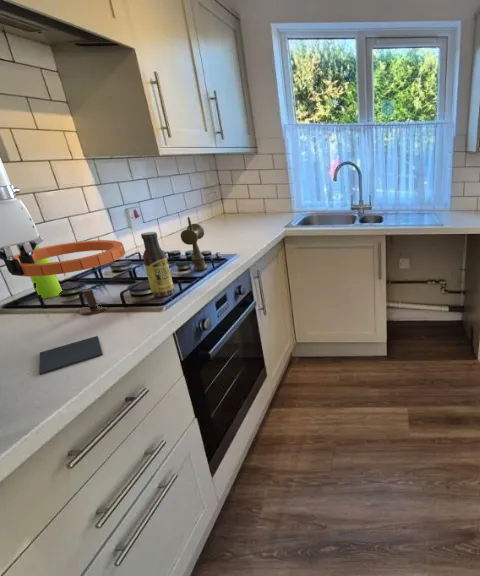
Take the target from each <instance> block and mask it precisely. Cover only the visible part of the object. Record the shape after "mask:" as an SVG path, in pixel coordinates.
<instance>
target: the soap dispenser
mask: <svg viewBox="0 0 480 576" xmlns="http://www.w3.org/2000/svg"><path fill="white" fill-rule="evenodd" d="M39 248H40V247H39V244H38V245H36V247H35V249H39ZM35 249H34V250H35ZM37 263H51V260H50V257H49V258H45V259H42V260H38V261H35V264H37ZM30 281H31V282H32V284H33V286H34V283H36V288H35V287H34V289H35V291H36V294H37V296H38V295H41V297H42V298H43V300H44V299H52V298H55V297H57V296H60V295H59V293H60V292H61V291H63V289H62V287H61V284H60V281H59V280H58V277H57V274H56V275H47V276H45V275H44V276H30Z"/></svg>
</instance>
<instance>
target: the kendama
mask: <svg viewBox="0 0 480 576" xmlns="http://www.w3.org/2000/svg"><path fill="white" fill-rule="evenodd" d="M187 223H188V226H187V227H186V229H183V230H182V231H181V233H180V239H181V241H182V242H183V244H185V245H187V246H189V245H190V246H192V257H191V260H192V261H193V268H192V270H193V271H195V272H202V271H205V270H207V269H208V267H209V266H208V264H206V262H205V255H203V254H202V252H201V249H200V247H199V244H198V240H201V239H202V238H204V236H205V229H204V227H203V226H202V225H201V224H199V223H192V221H191V218H190V216H188V217H187Z"/></svg>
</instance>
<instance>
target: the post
mask: <svg viewBox="0 0 480 576" xmlns="http://www.w3.org/2000/svg"><path fill="white" fill-rule="evenodd" d="M81 293H82V294H83V295H84V298H85V301H86V303H87V305H88V306H89V307H84V306H83V307H81V308H80V309H79V310H78V313H79V314H80V315H81V316H90V315H96V314H99V313H103V312H104V311H105V310H104V309H105V307H102V306H101V307H100V306H98V305H99V304H100V305H101V304H109V303H108V302H105V301H103V302H102V301H100V302H97V300H96V297H95V294H94V289H93V288H86V289H83V290H82V291H81Z"/></svg>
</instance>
